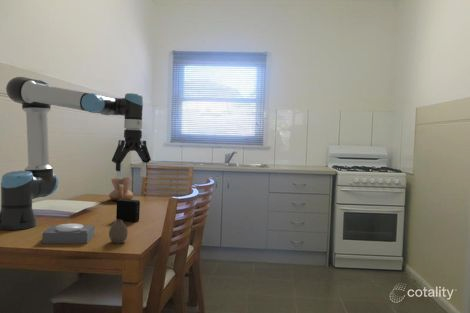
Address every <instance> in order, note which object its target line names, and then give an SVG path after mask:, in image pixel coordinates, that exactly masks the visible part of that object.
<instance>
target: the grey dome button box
mask: <svg viewBox="0 0 470 313" xmlns="http://www.w3.org/2000/svg"><path fill="white" fill-rule="evenodd" d="M41 233H42V236H41V237H42V239H41V242H42V244H80V245H81V244H88V243H89V242H90V241H91V239H92V238H94V236H95V225H86V224H85V225H83V224H81V223H62V224H53V225H51V226H50V227H48V228H47V229H45V230H44V231H42V232H41Z"/></svg>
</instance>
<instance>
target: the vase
mask: <svg viewBox="0 0 470 313" xmlns="http://www.w3.org/2000/svg"><path fill="white" fill-rule="evenodd" d="M128 234H129V232H128V227H127V226H126V224H125V223H124V221H122V220H121V219H117V220H116V219H115V221H114V222H113V224H112V225H111V226H110V228H109V231H108V237H109V240H110V242H111V243H113V244H124V242H126V240H127V238H128Z"/></svg>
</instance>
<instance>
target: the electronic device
mask: <svg viewBox="0 0 470 313" xmlns="http://www.w3.org/2000/svg"><path fill="white" fill-rule="evenodd" d="M140 206H141V201H140V200H139V199H137V200H136V199H130V200H128V199H120V200H118V201H116V213H115V215H116V216H115V217H116V219H115V220H117V219H121V220H122V221H123V223H124V222H125V223H126V222H127V223H136V222H139V220H140Z"/></svg>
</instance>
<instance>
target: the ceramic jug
mask: <svg viewBox="0 0 470 313" xmlns="http://www.w3.org/2000/svg"><path fill="white" fill-rule="evenodd" d="M110 180H111V184H112V185H113V186H112V187H113V189H114V190H112V191H111V192H110V193H109V194H108V195H109V196H108V197H109V198H110V200H112V201H116V202H117V201H118V200H120V199H128V200H133V197H134V193H133V192H132V191H130V187H131V184H132V181H133V178H132V177H130V176H122V179H117V176H114V177H111V178H110Z"/></svg>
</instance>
